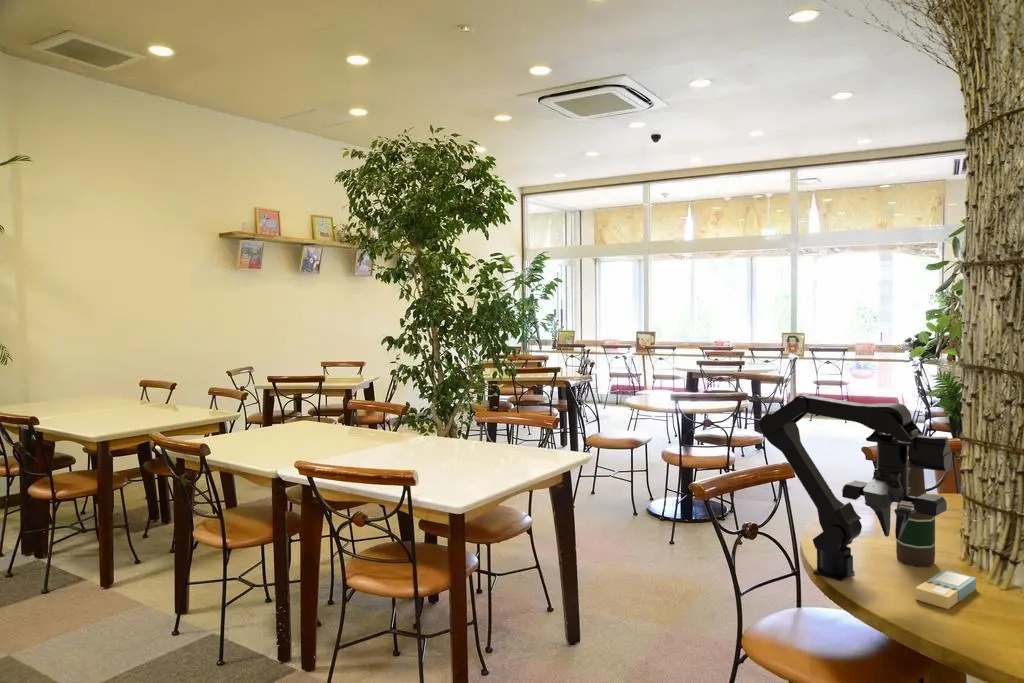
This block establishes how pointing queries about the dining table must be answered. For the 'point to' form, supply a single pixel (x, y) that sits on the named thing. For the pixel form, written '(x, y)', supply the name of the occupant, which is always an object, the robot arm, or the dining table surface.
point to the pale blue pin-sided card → (955, 582)
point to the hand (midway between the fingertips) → (892, 537)
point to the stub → (936, 595)
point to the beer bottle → (917, 528)
